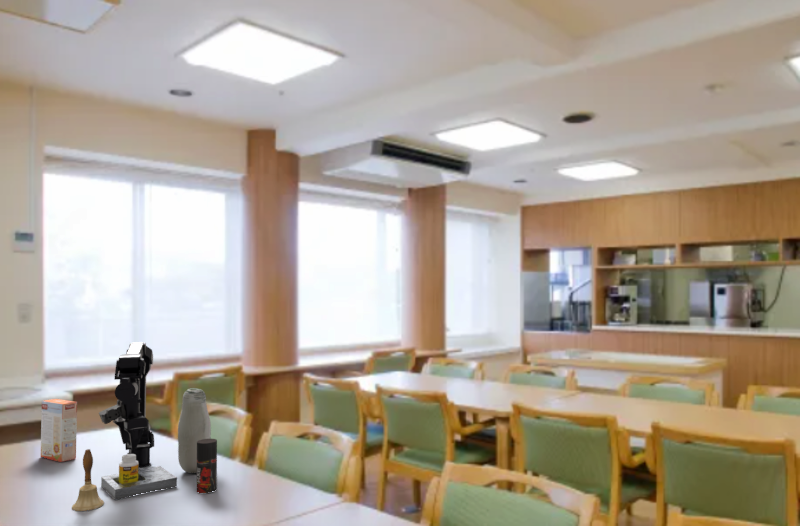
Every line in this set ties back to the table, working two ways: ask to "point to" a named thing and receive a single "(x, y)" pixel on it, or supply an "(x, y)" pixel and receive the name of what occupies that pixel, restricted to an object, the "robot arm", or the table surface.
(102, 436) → the table surface
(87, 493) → the hand bell
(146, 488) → the jig block
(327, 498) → the table surface
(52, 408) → the cracker box
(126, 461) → the supplement bottle
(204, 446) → the deodorant
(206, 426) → the gray bottle
